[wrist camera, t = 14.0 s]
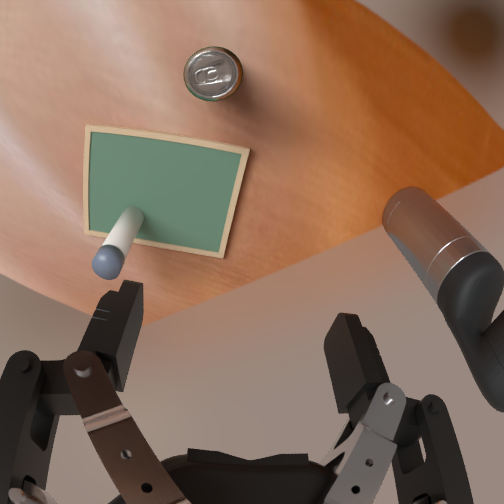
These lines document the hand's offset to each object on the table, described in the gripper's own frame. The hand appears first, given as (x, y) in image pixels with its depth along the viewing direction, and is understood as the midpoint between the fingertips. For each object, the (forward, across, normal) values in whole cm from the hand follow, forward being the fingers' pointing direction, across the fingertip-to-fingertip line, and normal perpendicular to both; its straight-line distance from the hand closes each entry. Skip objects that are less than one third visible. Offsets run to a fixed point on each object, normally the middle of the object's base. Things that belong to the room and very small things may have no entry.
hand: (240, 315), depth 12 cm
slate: (+30, +10, +9) cm, 32 cm away
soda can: (+30, +4, -8) cm, 31 cm away
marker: (+29, +13, +13) cm, 34 cm away
